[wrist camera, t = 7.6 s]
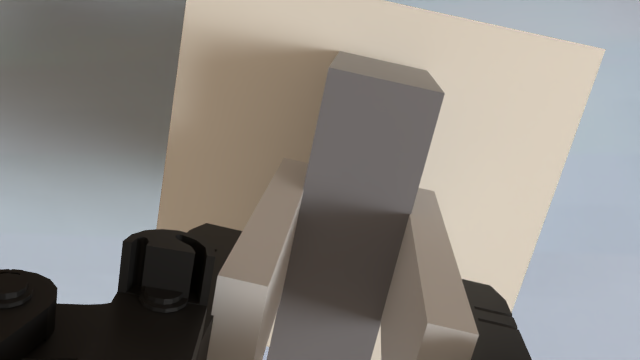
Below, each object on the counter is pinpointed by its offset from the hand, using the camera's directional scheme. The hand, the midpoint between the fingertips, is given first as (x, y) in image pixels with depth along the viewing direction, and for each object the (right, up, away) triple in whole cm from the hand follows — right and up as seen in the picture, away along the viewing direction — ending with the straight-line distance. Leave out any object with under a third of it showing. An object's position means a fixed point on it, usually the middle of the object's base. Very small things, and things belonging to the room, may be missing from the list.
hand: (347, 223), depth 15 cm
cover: (0, +1, +3) cm, 3 cm away
